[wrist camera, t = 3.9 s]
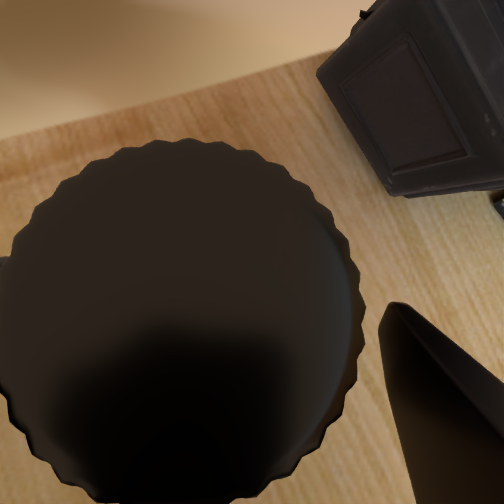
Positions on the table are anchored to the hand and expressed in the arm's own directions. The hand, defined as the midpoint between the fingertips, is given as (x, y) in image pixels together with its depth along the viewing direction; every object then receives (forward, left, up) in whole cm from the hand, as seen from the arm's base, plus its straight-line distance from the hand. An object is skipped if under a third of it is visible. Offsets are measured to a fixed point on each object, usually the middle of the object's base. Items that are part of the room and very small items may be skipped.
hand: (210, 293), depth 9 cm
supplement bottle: (-1, 0, -8) cm, 8 cm away
